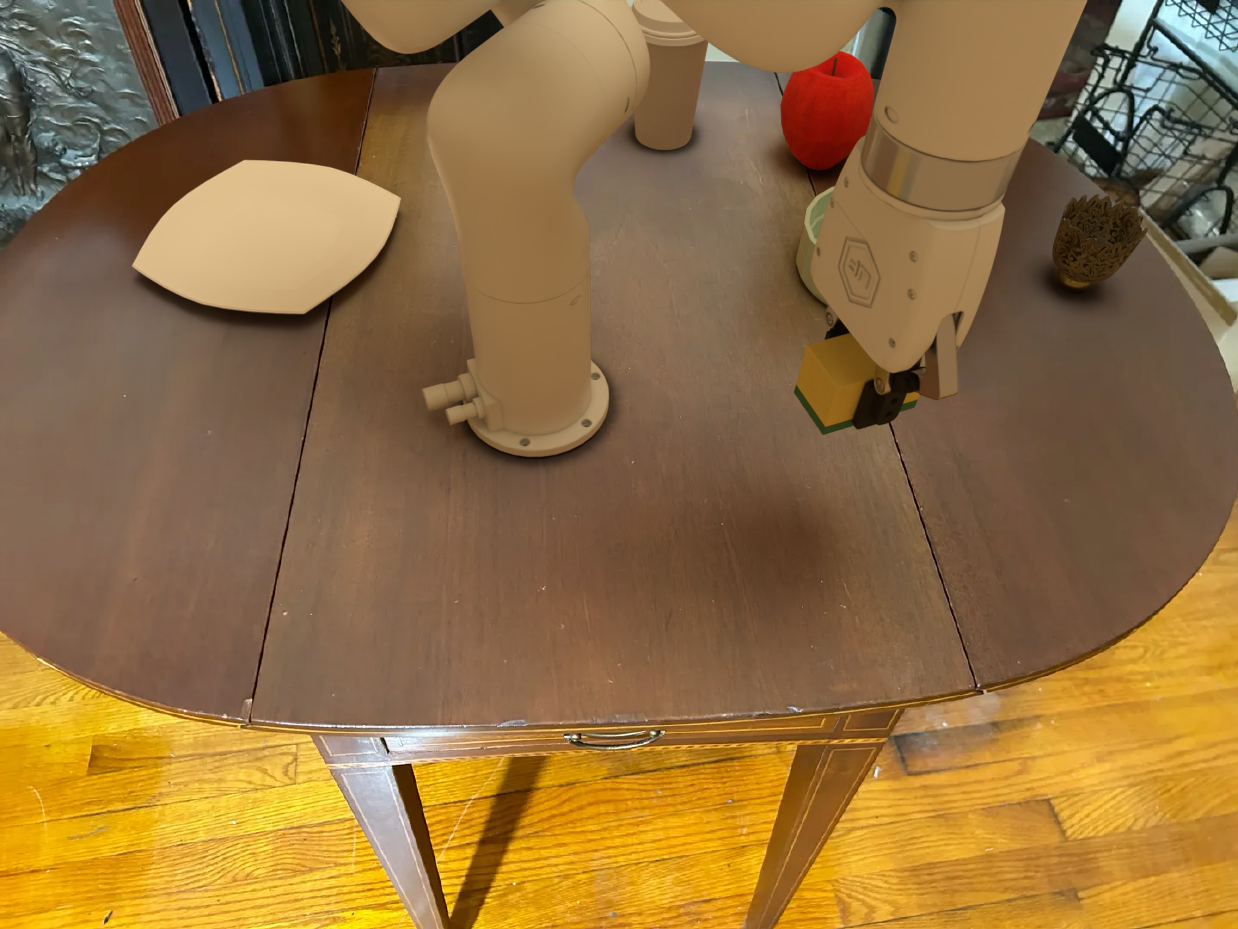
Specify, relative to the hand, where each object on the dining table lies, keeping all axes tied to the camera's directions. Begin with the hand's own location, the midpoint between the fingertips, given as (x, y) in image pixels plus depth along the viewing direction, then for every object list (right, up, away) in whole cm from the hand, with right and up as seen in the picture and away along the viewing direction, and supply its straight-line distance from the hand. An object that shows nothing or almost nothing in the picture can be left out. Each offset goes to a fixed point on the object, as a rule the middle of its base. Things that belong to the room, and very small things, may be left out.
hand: (855, 393), depth 60 cm
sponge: (0, 0, 0) cm, 1 cm away
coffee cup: (-11, +34, +46) cm, 58 cm away
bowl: (+10, +15, +31) cm, 36 cm away
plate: (-50, +17, +32) cm, 62 cm away
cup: (+30, +13, +31) cm, 45 cm away
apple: (+7, +30, +43) cm, 53 cm away
